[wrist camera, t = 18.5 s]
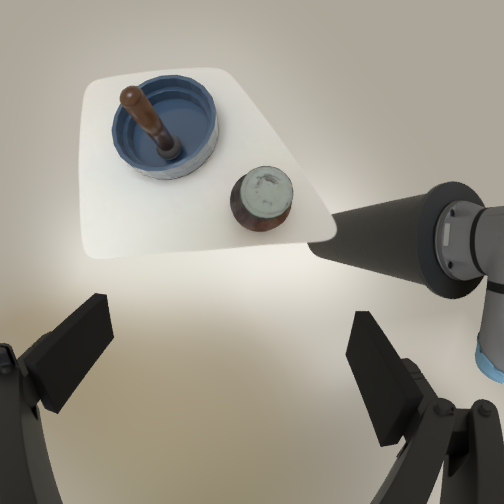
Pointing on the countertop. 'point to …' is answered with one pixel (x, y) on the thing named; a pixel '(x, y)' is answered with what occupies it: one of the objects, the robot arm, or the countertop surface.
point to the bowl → (169, 127)
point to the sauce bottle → (262, 199)
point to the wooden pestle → (150, 122)
